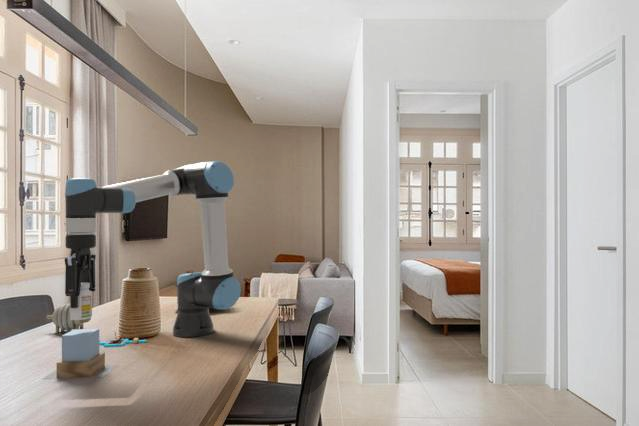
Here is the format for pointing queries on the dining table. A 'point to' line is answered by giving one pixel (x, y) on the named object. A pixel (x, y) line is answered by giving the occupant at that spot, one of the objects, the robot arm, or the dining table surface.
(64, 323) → the toy sheep
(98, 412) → the dining table surface
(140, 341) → the gear mechanism
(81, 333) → the blue cube
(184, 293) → the robot arm
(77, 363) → the base brick
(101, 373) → the board
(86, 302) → the supplement bottle
